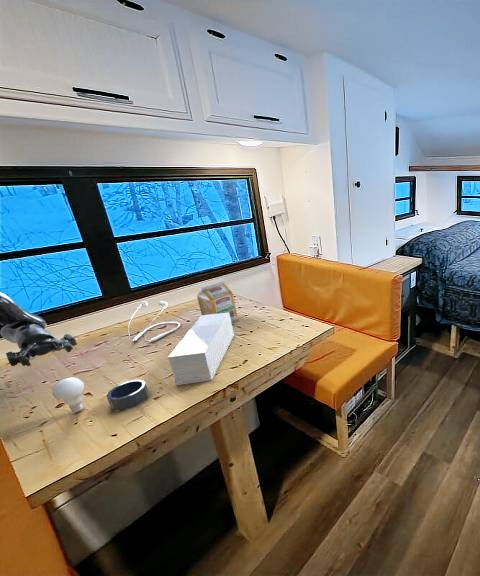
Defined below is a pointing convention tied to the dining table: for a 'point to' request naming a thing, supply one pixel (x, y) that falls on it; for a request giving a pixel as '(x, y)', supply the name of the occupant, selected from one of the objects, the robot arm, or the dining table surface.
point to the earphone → (153, 325)
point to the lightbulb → (70, 393)
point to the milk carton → (217, 300)
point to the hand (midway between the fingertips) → (49, 355)
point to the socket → (127, 395)
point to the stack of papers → (202, 349)
